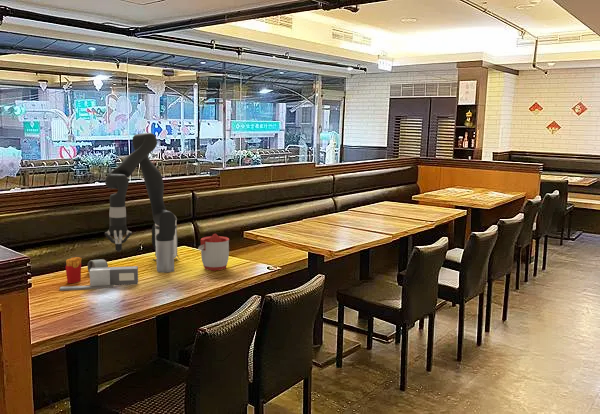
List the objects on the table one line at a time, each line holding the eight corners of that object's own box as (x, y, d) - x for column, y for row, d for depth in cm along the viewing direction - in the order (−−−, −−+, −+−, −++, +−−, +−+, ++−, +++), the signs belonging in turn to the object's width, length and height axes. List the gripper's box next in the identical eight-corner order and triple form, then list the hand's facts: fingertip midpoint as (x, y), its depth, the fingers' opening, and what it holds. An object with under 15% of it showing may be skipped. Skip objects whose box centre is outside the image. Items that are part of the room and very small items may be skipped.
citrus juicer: (193, 267, 299) (193, 232, 296) (221, 263, 309) (221, 229, 306) (204, 274, 286) (204, 237, 284) (234, 270, 296) (234, 234, 293)
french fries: (70, 284, 264) (69, 260, 262) (64, 282, 266) (63, 259, 264) (84, 280, 271) (83, 256, 270) (78, 278, 273) (77, 255, 271)
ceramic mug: (109, 273, 285) (108, 258, 284) (95, 276, 279) (94, 261, 278) (97, 270, 291) (97, 256, 290) (84, 272, 285) (83, 258, 284)
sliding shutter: (110, 284, 260) (109, 269, 259) (109, 285, 259) (109, 269, 258) (90, 285, 258) (89, 269, 257) (90, 286, 257) (89, 270, 256)
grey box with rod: (138, 281, 270) (137, 266, 269) (136, 287, 261) (136, 271, 260) (63, 284, 262) (63, 269, 261) (59, 290, 253) (58, 274, 252)
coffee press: (181, 256, 324) (180, 207, 320) (177, 263, 308) (176, 211, 304) (152, 256, 323) (151, 207, 319) (146, 263, 307) (145, 211, 303)
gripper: (132, 214, 261) (133, 249, 263) (104, 214, 258) (105, 249, 260) (131, 216, 253) (132, 252, 256) (102, 217, 251) (103, 253, 253)
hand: (118, 251), depth 258 cm, fingers closed
